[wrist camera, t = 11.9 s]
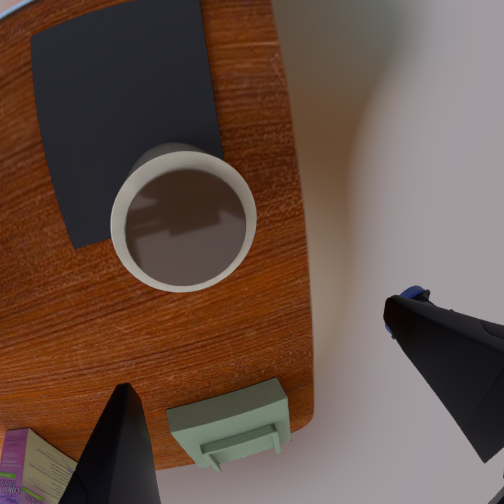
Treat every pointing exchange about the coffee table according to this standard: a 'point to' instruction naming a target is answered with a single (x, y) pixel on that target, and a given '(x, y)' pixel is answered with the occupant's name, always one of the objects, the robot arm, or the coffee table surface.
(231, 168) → the jar
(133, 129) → the mat
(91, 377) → the coffee table surface
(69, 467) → the box
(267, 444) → the stand
